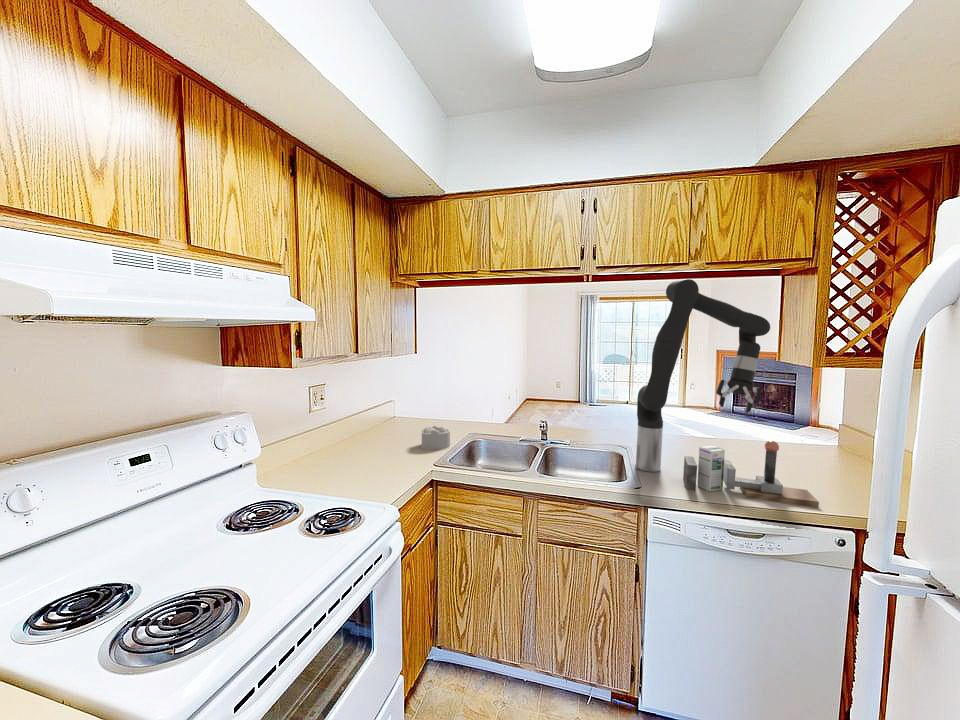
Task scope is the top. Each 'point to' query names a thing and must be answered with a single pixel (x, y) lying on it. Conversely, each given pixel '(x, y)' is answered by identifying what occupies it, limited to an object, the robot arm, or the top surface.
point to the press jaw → (761, 483)
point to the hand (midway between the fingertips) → (733, 409)
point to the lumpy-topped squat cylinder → (435, 438)
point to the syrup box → (711, 468)
